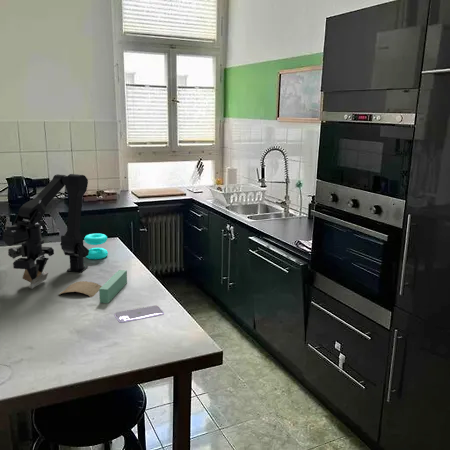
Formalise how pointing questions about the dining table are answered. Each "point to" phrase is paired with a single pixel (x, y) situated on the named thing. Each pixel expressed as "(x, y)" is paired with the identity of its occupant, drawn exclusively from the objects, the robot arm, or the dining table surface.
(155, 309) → the mobile phone
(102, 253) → the donuts
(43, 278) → the tan block on bar
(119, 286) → the bar
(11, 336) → the dining table surface
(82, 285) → the clay tablet
